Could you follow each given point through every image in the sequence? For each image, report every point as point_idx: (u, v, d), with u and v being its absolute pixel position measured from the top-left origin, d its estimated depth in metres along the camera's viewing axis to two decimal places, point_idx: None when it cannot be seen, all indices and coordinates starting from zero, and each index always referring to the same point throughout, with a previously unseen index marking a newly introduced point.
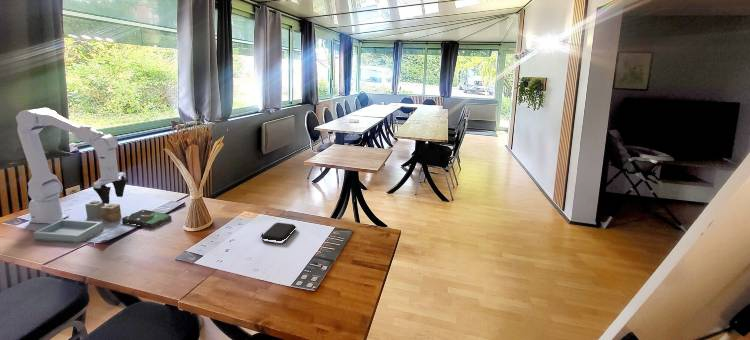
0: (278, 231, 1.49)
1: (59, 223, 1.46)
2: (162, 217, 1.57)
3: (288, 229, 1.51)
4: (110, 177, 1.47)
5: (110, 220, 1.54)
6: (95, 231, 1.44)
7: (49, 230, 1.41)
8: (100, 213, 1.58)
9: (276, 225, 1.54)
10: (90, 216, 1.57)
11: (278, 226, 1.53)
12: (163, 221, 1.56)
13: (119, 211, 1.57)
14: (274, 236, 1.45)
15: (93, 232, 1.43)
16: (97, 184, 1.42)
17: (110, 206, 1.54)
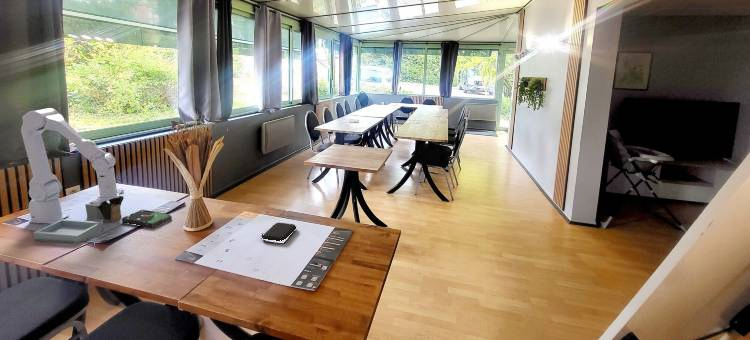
0: (278, 231, 1.49)
1: (59, 223, 1.46)
2: (162, 217, 1.57)
3: (289, 229, 1.51)
4: (109, 195, 1.51)
5: (110, 220, 1.54)
6: (95, 231, 1.44)
7: (49, 230, 1.41)
8: (100, 213, 1.58)
9: (277, 225, 1.54)
10: (90, 216, 1.57)
11: (278, 226, 1.53)
12: (164, 220, 1.56)
13: (119, 211, 1.57)
14: (275, 236, 1.45)
15: (93, 232, 1.43)
16: (96, 202, 1.47)
17: None
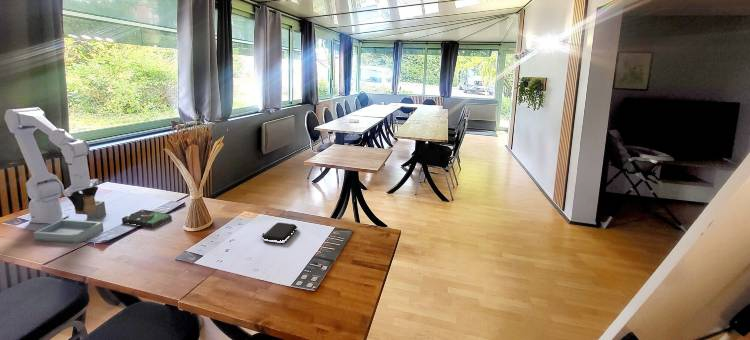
0: (279, 231, 1.49)
1: (59, 223, 1.46)
2: (162, 217, 1.57)
3: (289, 229, 1.51)
4: (81, 185, 1.41)
5: (83, 212, 1.44)
6: (95, 231, 1.44)
7: (49, 230, 1.41)
8: (100, 213, 1.58)
9: (278, 225, 1.54)
10: (90, 216, 1.57)
11: (279, 226, 1.53)
12: (164, 220, 1.56)
13: (93, 203, 1.47)
14: (275, 236, 1.45)
15: (93, 232, 1.43)
16: (67, 192, 1.36)
17: None
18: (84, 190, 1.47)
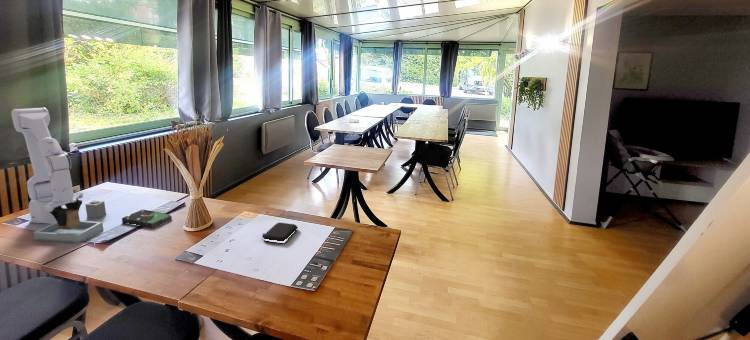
0: (279, 231, 1.49)
1: None
2: (162, 217, 1.57)
3: (289, 229, 1.51)
4: (63, 199, 1.36)
5: (66, 227, 1.39)
6: (95, 231, 1.44)
7: (49, 230, 1.41)
8: (100, 213, 1.58)
9: (278, 225, 1.54)
10: (90, 216, 1.57)
11: (279, 226, 1.53)
12: (164, 220, 1.56)
13: (77, 217, 1.42)
14: (276, 236, 1.45)
15: (93, 232, 1.43)
16: (48, 207, 1.32)
17: (66, 212, 1.39)
18: (68, 204, 1.42)
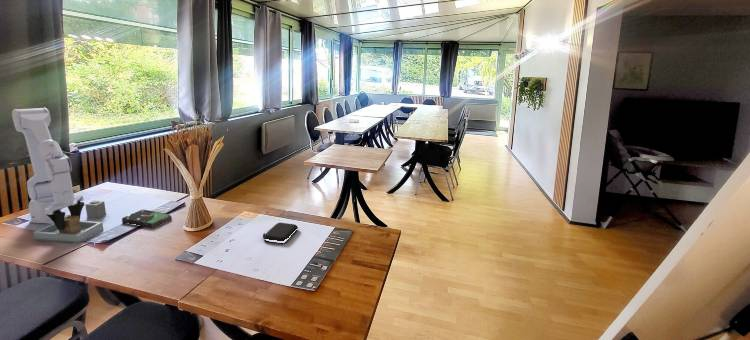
0: (280, 231, 1.49)
1: None
2: (162, 217, 1.57)
3: (290, 229, 1.51)
4: (64, 202, 1.37)
5: (67, 233, 1.40)
6: (95, 231, 1.44)
7: (49, 230, 1.41)
8: (100, 213, 1.58)
9: (278, 225, 1.54)
10: (90, 216, 1.57)
11: (280, 226, 1.53)
12: (164, 220, 1.56)
13: (78, 223, 1.43)
14: (276, 236, 1.45)
15: (93, 232, 1.43)
16: (48, 210, 1.32)
17: (67, 218, 1.40)
18: (70, 206, 1.43)
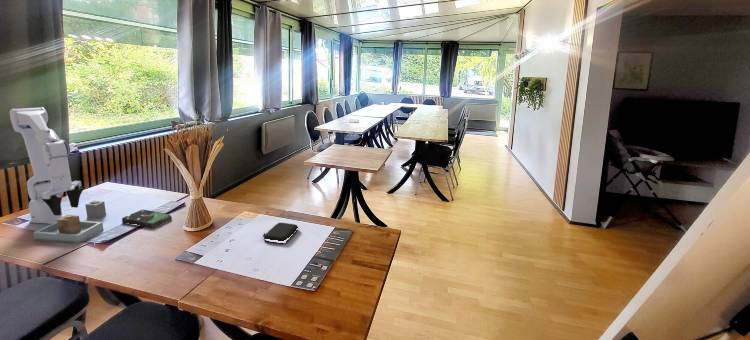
0: (280, 231, 1.49)
1: None
2: (162, 217, 1.57)
3: (290, 229, 1.51)
4: (61, 187, 1.35)
5: (67, 233, 1.40)
6: (95, 231, 1.44)
7: (49, 230, 1.41)
8: (100, 213, 1.58)
9: (279, 225, 1.54)
10: (90, 216, 1.57)
11: (280, 226, 1.53)
12: (164, 220, 1.56)
13: (78, 223, 1.43)
14: (276, 236, 1.45)
15: (93, 232, 1.43)
16: (46, 195, 1.31)
17: (67, 218, 1.40)
18: (68, 191, 1.42)
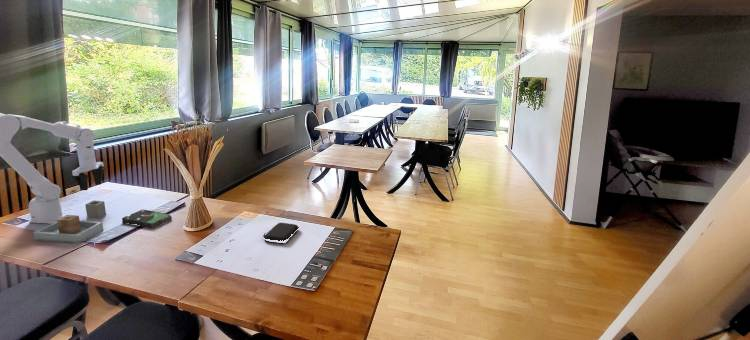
0: (280, 231, 1.49)
1: None
2: (162, 217, 1.57)
3: (290, 229, 1.51)
4: (88, 166, 1.59)
5: (67, 233, 1.40)
6: (95, 231, 1.44)
7: (49, 230, 1.41)
8: (100, 213, 1.58)
9: (279, 225, 1.54)
10: (90, 216, 1.57)
11: (280, 226, 1.53)
12: (164, 220, 1.56)
13: (78, 223, 1.43)
14: (277, 236, 1.45)
15: (93, 232, 1.43)
16: (75, 172, 1.55)
17: (67, 218, 1.40)
18: (93, 170, 1.66)
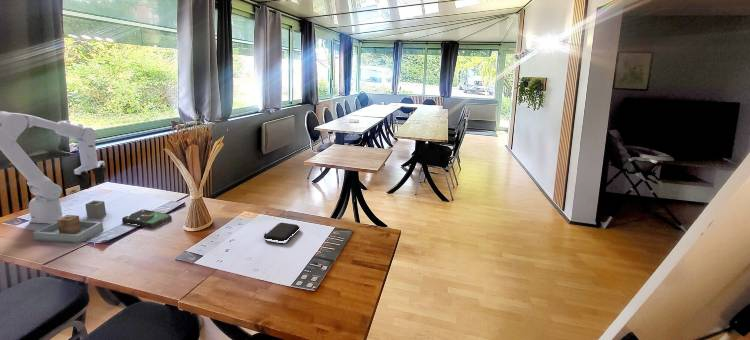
0: (281, 231, 1.49)
1: None
2: (162, 217, 1.57)
3: (291, 229, 1.51)
4: (89, 165, 1.61)
5: (67, 233, 1.40)
6: (95, 231, 1.44)
7: (49, 230, 1.41)
8: (100, 213, 1.58)
9: (280, 225, 1.54)
10: (90, 216, 1.57)
11: (281, 226, 1.53)
12: (164, 220, 1.56)
13: (78, 223, 1.43)
14: (277, 236, 1.45)
15: (93, 232, 1.43)
16: (77, 170, 1.57)
17: (67, 218, 1.40)
18: (94, 169, 1.68)
